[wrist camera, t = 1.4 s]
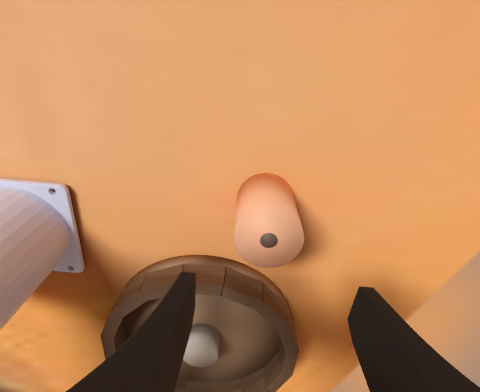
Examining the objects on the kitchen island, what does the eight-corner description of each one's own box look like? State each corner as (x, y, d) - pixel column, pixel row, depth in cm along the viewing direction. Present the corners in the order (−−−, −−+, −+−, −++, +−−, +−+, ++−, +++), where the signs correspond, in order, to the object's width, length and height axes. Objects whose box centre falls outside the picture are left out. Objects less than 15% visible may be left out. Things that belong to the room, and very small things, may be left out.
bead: (235, 220, 22) (231, 265, 18) (239, 170, 20) (236, 207, 16) (288, 224, 22) (297, 270, 18) (297, 175, 20) (310, 213, 16)
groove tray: (127, 369, 31) (114, 402, 28) (107, 246, 24) (87, 274, 21) (278, 381, 31) (281, 415, 28) (306, 263, 24) (314, 293, 21)
